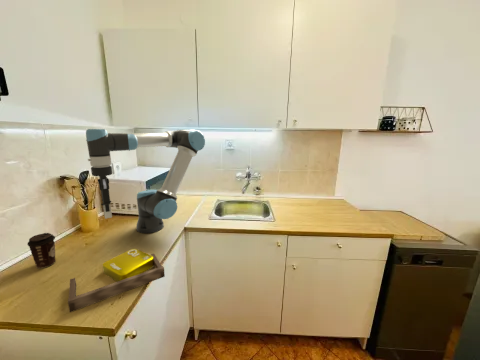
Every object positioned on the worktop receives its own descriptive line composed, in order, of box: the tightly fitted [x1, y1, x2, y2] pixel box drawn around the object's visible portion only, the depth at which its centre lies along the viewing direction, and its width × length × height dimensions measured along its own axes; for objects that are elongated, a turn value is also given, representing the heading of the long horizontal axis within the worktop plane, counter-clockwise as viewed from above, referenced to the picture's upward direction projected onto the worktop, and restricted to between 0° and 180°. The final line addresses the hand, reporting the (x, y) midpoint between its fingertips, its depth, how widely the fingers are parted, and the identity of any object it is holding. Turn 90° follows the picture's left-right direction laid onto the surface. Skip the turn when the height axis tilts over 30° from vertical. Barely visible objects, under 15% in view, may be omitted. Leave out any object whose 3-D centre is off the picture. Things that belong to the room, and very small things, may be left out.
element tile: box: [102, 248, 155, 282], centre depth 90 cm, size 15×15×5 cm
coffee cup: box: [27, 232, 56, 269], centre depth 91 cm, size 9×8×13 cm
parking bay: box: [67, 253, 165, 313], centre depth 82 cm, size 30×14×4 cm, turn 126°
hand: (108, 217), depth 96 cm, fingers closed
